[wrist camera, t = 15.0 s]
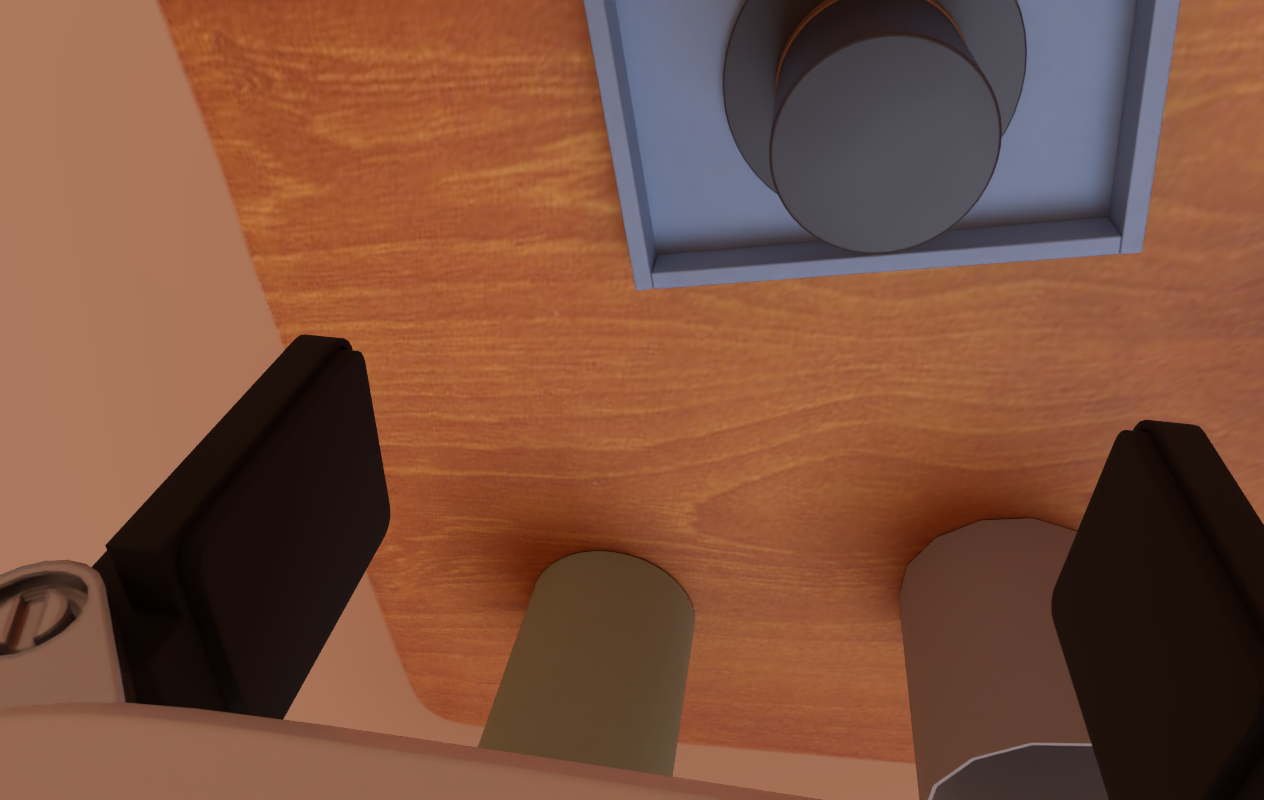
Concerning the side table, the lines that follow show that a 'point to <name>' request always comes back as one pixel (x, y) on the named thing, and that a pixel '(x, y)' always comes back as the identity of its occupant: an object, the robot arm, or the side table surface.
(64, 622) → the robot arm
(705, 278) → the tray
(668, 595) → the pedestal
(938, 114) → the hat
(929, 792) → the cup
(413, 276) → the side table surface
